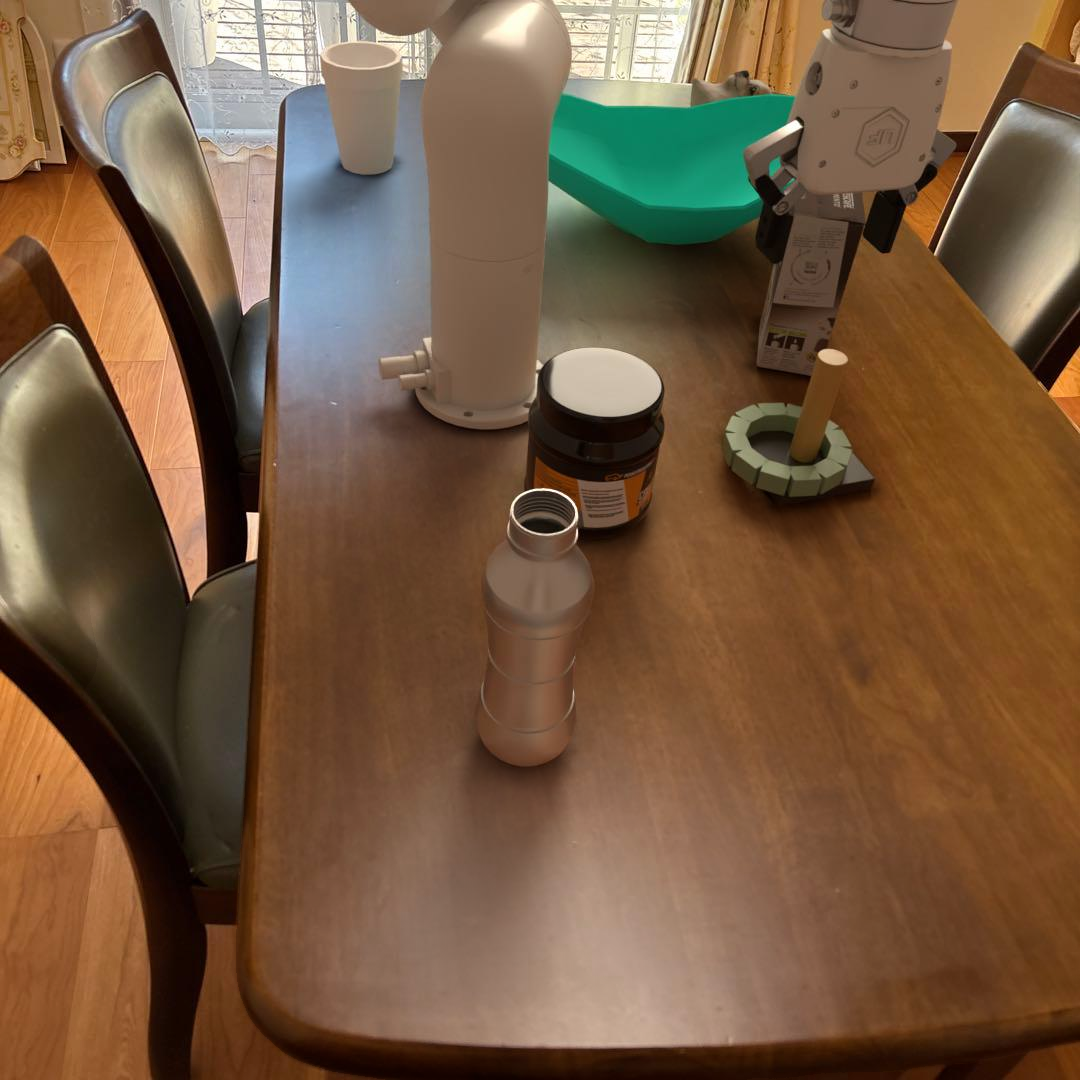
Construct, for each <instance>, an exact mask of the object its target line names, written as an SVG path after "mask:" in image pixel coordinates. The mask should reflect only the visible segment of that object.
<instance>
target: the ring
mask: <svg viewBox="0 0 1080 1080" xmlns="http://www.w3.org/2000/svg"><path fill="white" fill-rule="evenodd" d="M801 410H802V406H800V405H795V404H791V403H787V405H785V403H784V402H762V403H761V402H759V403H757V404H756V405H755V404H751V405H749V406H747V407H744V408H742V409H740V410H738V411H736V412H734V414H733V415H731V417H730V418H729V421H728V423H727V425H726V427H725V429H724V433H723V437H722V441H721V452H722V454H723V457H724V459H725V462H726V464H727V467H729V468H731V469H730V470H731V472H733V473H735V474H736V475H737V476H738V477H740V478H741V479H743V480H744V481H745V482H746V483H748V484H749V485H750V486H752V485H754V484H756V485H755V489H758V490H762V491H766V492H768V491H769V492H772V493H775V494H779V495H782V496H784V495H785V492H786V491H787V493H788V495H789V497H794V496H816V495H817V492H818V493H820V494H823V493H825V492H826V491H828V490H830V489H832V488H834V487H836V486H837V485H839V484H840V481H841V482H842V480H843V477H844V475H845V472H846V469H847V466H848V463H849V460H850V456H851V453H852V452H853V449H852V444H851V442H850V441H849V439H848V437H847V435H846V433H845V432H844V430H843V429H840V426H839V425H838V424H837V423H835V422H833V421H832V420H831V419H829V421H828V424H827V427H826V430H825V434H824V437H823V440H822V443H821V446H820V451H821V453H822V455H823V456H824V458H825V459H824V460H822V461H820V462H818V463H816V464H815V465H813V466H792V467H790V466H787V465H783V464H780V463H777V462H773V461H770V460H767V459H766V458H765V457H763V456H762V455H761V454H759V453H758V452H756V451H755V450H754V449H752V448H751V445H750V443H749V441H748V439H747V438H749V437H751V436H753V435H755V434H757V433H759V432H761V431H785V432H789V433H792V434H794V433H795V430H796V426H797V423H798V420H799V416H800V413H801ZM769 492H768V493H769Z"/></svg>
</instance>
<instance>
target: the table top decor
mask: <svg viewBox="0 0 1080 1080" xmlns="http://www.w3.org/2000/svg"><path fill="white" fill-rule="evenodd" d="M795 97H796V95H792V94H780V93H779V94H777V93H775V94H774V93H772V94H766V95H756V96H746V97H736V98H729V99H724V100H719V101H715V102H710V103H706V104H701V105H697V106H692V107H691V106H689V107H687V106H686V107H685V106H664V105H663V106H661V105H660V106H658V105H605V104H602V103H598V102H595V101H592V100H588V99H585V98H582V97H579V96H576V95H573V94H568V93H564V92H563V93H562V95H561V98H560V102H559V104H558V107H557V109H556V112H555V115H554V118H553V124H552V129H551V136H550V146H549V169H548V183H550V184H552V185H554V186H555V187H557V188H558V189H560V190H561V191H562V192H564V193H566V194H567V195H568V196H570V197H571V198H573V199H574V200H576V201H577V202H578V203H580V204H582V205H583V206H584V207H586V208H588V209H589V210H591V211H593V212H594V213H595V214H597V215H598V216H600V217H602V218H603V219H605V220H606V221H608V222H609V223H611V224H612V225H613V226H615V227H616V228H618V229H620V230H621V231H623V232H624V233H626V234H629V235H631V236H633V237H636V238H640V239H641V240H643V241H645V242H647V243H648V244H663V245H664V244H667V245H677V246H681V245H690V244H692V245H693V244H700V243H710V242H711V243H712V242H713V241H716V240H717V239H720V238H722V237H724V236H726V235H728V234H730V233H732V232H734V231H736V230H737V229H740V228H742V227H743V226H745V225H748V224H749V223H751V222H753V221H755V220H757V219H760V215H761V211H762V207H763V203H764V201H763V200H762V199H761V198H760V197H759V195H758V193H757V192H756V191H755V189H754V188H753V187H752V185H751V184H750V183H749V181H748V176H749V175H748V173H747V169H746V165H745V162H744V158H743V152H744V150H745V149H746V148H747V147H748V146H750V145H752V144H753V143H755V142H757V141H759V140H761V139H762V138H764V137H766V136H768V135H770V134H771V133H773V132H775V131H777V130H779V129H780V128H782V127H784V126H786V125H787V123H788V119H789V116H790V112H791V109H792V106H793V103H794V100H795ZM780 167H781V165H780V156H779V157H778V158H776V159H774V160H773V161H772V162H771V163H770V165H769V171H770V172H769V174H770V177H771V176H772V175H773V174H774V173H775V172H776V171H777V170H778V169H779V168H780ZM793 181H794V178H793V179H792V180H791V181H790V182H789V183H788V184H787V185H786V186H785V187H784V188H783V189H782V190H781V193H783V191H784V190H785V189H786V188H787V187H788V186H789V185H790V184H791V183H792V182H793Z"/></svg>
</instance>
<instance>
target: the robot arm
mask: <svg viewBox="0 0 1080 1080" xmlns="http://www.w3.org/2000/svg"><path fill="white" fill-rule="evenodd" d="M958 1H959V0H824V1H823V3H822V5H821V17H822V19H823V21H830V24H831V25H830V28H826V29H823V30H822V32H821V34H820V35H819V38H818V40H817V42H816V44H815V47H814V48H813V51H812V53H811V56H810V58H809V59H808V63H807V65H806V67H805V69H804V72H803V74H802V78H801V79H800V84H799V85H798V88H797V92H796V94H795V96H796V97H795V100H794V103H793V106H792V109H791V112H790V116H789V119H788V123H787V125H786V126H784V127H782V128H780V129H779V130H777V131H775V132H773V133H771V134H770V135H768V136H766V137H764V138H762V139H761V140H759V141H757V142H755V143H753V144H752V145H750V146H748V147H747V148H746V149H745V150H744V152H743V158H744V162H745V165H746V169H747V173H748V175H749V176H748V181H749V183H750V184H751V185H752V187H753V188H754V189H755V191H756V192H757V193H758V195H759V197H760V198H761V199H762V200H763V201H764V203H763V207H762V211H761V215H760V217H759V218H758V223H757V226H756V227H757V228H756V231H755V236H754V237H755V238H754V241H755V247H756V249H757V250H758V251H759V252H760V253H761V254H762V255H763V256H764V257H765V259H766V260H767V261H768V262H769V263H770V264H771V265H774V264H779V263H780V262H781V261H782V260H783V256H784V252H785V248H786V245H787V241H788V237H789V234H790V230H791V226H792V223H793V215H792V214H791V213H790V212H789V210H790V209H791V208H792V207H793V206H794V205H795V204H796V203H797V202H798V200H799V199H800V198H801V197H802V196H803V195H804V194H805V193H806V192H807V191H809V192H811V193H813V194H818V195H831V194H847V193H861V192H862V193H873V192H875V194H874V197H873V200H872V203H871V206H870V209H869V213H868V215H867V218H866V220H865V223H866V224H865V226H864V229H863V232H862V238H863V239H865V240H866V242H868V243H869V244H870V246H872V247H873V248H874V249H876V250H877V252H879V253H880V254H881V255H883V254H884V255H885V254H890V253H891V251H892V249H893V246H894V243H895V240H896V237H897V234H898V231H899V229H900V226H901V223H902V220H903V217H904V214H905V212H906V209H907V206H912V205H913V204H914V203H915V202H917V200H918V198H919V192H921V191H922V190H923V189H925V188H926V186H928V185H929V184H930V183H931V182H932V181H934V179H936V177H937V175H938V170H939V169H940V168H942V167H943V165H945V162H946V161H947V160H948V159H949V158H950V156H951V155H953V153H954V152H955V149H956V147H957V142H956V141H955V140H953V139H952V138H950V137H949V136H948V135H947V134H945V133H944V132H943V131H941V130H939V129H938V126H939V123H940V118H941V115H942V111H943V107H944V103H945V99H946V93H947V89H948V88H947V87H948V84H949V78H950V72H951V71H950V70H951V64H952V63H951V62H952V53H953V51H952V50H953V45H952V43H950V42H949V41H948V40H946V37H947V34H948V31H949V29H950V25H951V22H952V19H953V17H954V14H955V11H956V7H957V5H958ZM347 2H348V3H349V4H350V6H351V7H352V8H353V9H354V10H355V11H356V12H357V13H358V15H359V16H360V18H362V19H363V20H364V21H365V22H366V23H367V24H369V25H370V26H372V27H373V28H375V29H376V30H378V31H379V32H381V33H384V34H386V35H389V36H395V37H407V36H408V37H409V36H412V35H417V34H419V33H422V32H424V31H425V30H427V29H430V31H431V32H432V33H433V35H434V36H435V38H436V39H437V40H438V42H439V43H440V44H441V45H442V46H441V47H440V49H439V50H438V52H437V53H436V55H435V56H434V58H433V61H432V64H431V65H430V67H429V70H428V73H427V75H426V78H425V80H424V85H423V90H422V94H421V95H422V96H421V105H420V112H421V113H420V118H421V119H420V120H421V121H420V122H421V130H422V131H421V132H422V139H423V147H424V154H425V162H426V171H427V183H428V206H429V207H428V210H429V211H428V212H429V213H428V215H429V244H430V245H429V247H430V248H429V250H430V251H429V253H430V254H429V255H430V334H431V335H430V336H428V337H423V338H422V349H418V350H413V351H412V354H410V355H402V356H399V355H397V356H388V357H380V358H378V370H379V375H380V378H381V380H383V381H384V380H392V379H398V388H399V390H400V392H404V391H413V390H415V395H416V397H417V400H418V401H419V403H420V404H421V406H422V407H423V408H424V409H425V410H426V411H427V412H429V414H431V415H433V416H434V417H435V418H438V419H439V420H442V421H443V422H445V423H448V424H451V425H454V426H456V427H460V428H461V427H463V428H467V429H471V430H500V429H501V430H502V429H506V428H512V427H515V426H519V425H522V424H523V423H526V422H528V413H529V409H530V406H531V404H532V402H533V400H534V399H535V397H536V393H537V380H538V374H539V372H540V370H541V368H542V366H543V365H544V363H542V362H541V361H540V360H539V359H538V351H539V350H538V347H539V336H540V335H539V334H540V321H541V320H540V319H541V308H542V295H543V293H542V292H543V281H544V267H545V252H546V236H547V223H548V222H547V220H548V205H549V181H548V169H549V146H550V136H551V129H552V124H553V118H554V115H555V112H556V109H557V107H558V104H559V102H560V98H561V95H562V93H564V90H565V87H566V85H567V83H568V80H569V76H570V72H571V68H572V61H573V60H572V59H573V54H572V53H573V47H572V41H571V37H570V32H569V29H568V27H567V25H566V22H565V20H564V18H563V15H562V14H561V12H560V10H559V8H558V7H557V4H556V3H555V2H554V0H347ZM779 156H780V165H781V167H780V168H779V169H778V170H777V171H776V172H775V173H774V174H773V175H772V176H771V177H770V174H769V172H770V171H769V165H770V163H771V162H772V161H773V160H774V159H776V158H778V157H779ZM793 178H794V179H795V180H794V181H793V182H792V183H791V184H790V185H789V186H788V187H787V188H786V189H785V190H784V191H783V193H781V190H782V189H783V188H784V187H785V186H786V185H787V184H788V183H789V182H790V181H791V180H792V179H793Z"/></svg>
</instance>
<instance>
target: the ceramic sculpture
mask: <svg viewBox="0 0 1080 1080" xmlns="http://www.w3.org/2000/svg"><path fill="white" fill-rule="evenodd" d="M766 94H773V92H772V90H771V88H770V87H769V85H767V84H766V82H764V81H763V80H761V79H759V78H755V79H753V78H751V77H750V72H749V71H748V70H746V69H745V70H740V71H735V72H733V73H732V74H729V75H728V76H727V78H726V79H725V80H724V81H723V82H721V83H711V82H708V81H706V80H703V79H699V78H697V77H694V78H693V79H692V81H691V91H690V103H689V105H690V107H692V106H697V105H701V104H706V103H710V102H715V101H719V100H724V99H729V98H736V97H746V96H756V95H766Z"/></svg>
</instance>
